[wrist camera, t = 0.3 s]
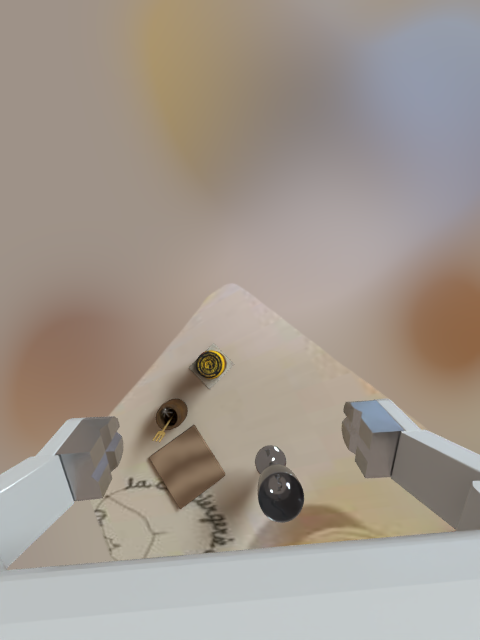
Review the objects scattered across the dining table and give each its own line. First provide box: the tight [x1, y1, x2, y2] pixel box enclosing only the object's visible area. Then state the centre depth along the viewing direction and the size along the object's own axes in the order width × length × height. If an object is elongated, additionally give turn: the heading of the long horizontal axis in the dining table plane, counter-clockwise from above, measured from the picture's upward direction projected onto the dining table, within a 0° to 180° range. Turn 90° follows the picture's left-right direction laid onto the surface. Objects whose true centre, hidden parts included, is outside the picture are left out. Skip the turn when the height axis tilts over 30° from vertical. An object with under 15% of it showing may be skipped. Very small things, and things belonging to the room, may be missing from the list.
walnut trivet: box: [149, 425, 225, 509], centre depth 57 cm, size 13×12×1 cm
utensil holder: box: [152, 399, 188, 442], centre depth 54 cm, size 6×6×12 cm
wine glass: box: [255, 446, 304, 523], centre depth 51 cm, size 8×8×15 cm
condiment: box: [189, 343, 234, 389], centre depth 56 cm, size 7×8×12 cm
